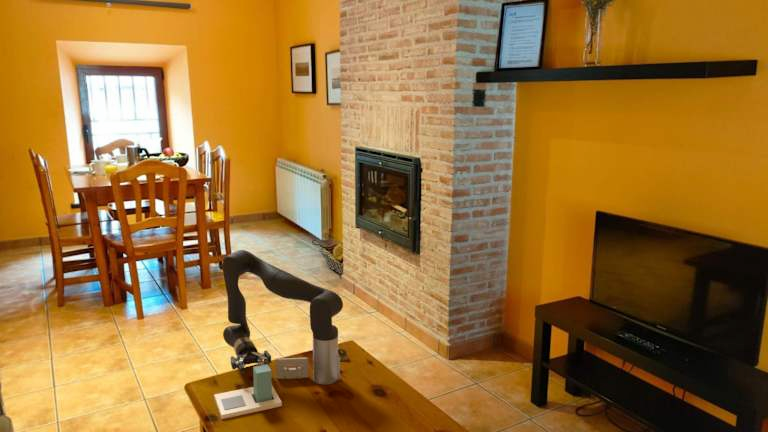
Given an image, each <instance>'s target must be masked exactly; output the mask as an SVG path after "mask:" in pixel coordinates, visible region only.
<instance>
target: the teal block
mask: <svg viewBox="0 0 768 432" xmlns="http://www.w3.org/2000/svg"><path fill="white" fill-rule="evenodd" d="M252 372H253V373H252V374H253V375H252V376H253V387H254V398H253V399H254V401H255V403H259V402H264V401H269V400H273V399H272V386H273V384H272V370H271V367H270V365H269V366H268V364H266V365H264V364H260V365H257V366H253V367H252Z"/></svg>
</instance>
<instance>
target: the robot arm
mask: <svg viewBox="0 0 768 432" xmlns="http://www.w3.org/2000/svg"><path fill="white" fill-rule="evenodd" d="M246 273H249V274H253V275H254V276H256V277H258V278H259V279H260V280H261V281H262V284H263V285H264V287H265V288H266V289H267V290H268V291H269V292H271V293H273V294H274V295H277V296H278V297H281V298H283V299H286V300H287V299H289V300H295V301H302V302H307V303H309V304H310V305H309V322H310V324H309V325H310V329H311V331H312V379H313V381H314V383H316V384H318V385H332V384H334V383H336V382H337V381H340V379H341V369H340V368H341V361H340V356H339V355H338V348H339V328H338V327H337V326H336V325H333V319H332V318H334V317H335V316H336V315H338V314H339V313H340V312H341V311H342V309H343V308H344V303H343V302H344V301H343V299H342V297H341V296H340V295H339V294H338V293H336V292H334V291H333V290H331V289H327V288H323V287H321V286H318V285H314V284H313V283H310V282H308V281H306V280H304V279H302V278H299V277H298V276H295V275H293V274H292V273H290V272H288V271H285V270H284V269H280V268H279V267H276V266H275V265H273V264H270V263H268V262H266V261H265V260H262V259H261V258H259V256H256V255H255V254H253V253H252V252H250V251H247V250H245V249H240V250H237V251H234V252H232V253H229V254H227V255H225V257H224V258H223V259H222V274H223V278H224V285H225V289H226V295H227V318H228V321H229V323H231V324H234V325H229V326H228V325H227V327H225V328H224V330H223V332H222V337H223V339H224V341H225V343H226V344H227V345H228V346H230V347H231V348H233V350H234V354H235V355H236V357H234V356H232V355H231V356H230V365H231V369H232V370H236V369H237V370H238V371H239V373H242V374H244V373H245V367H246V366H247V365H252V364H257V365H266V364H268V366H269V367H270V364H271V363H272V355H271V354H270V353H269V351H268V350H264V351H263V352H262V353H260V352H259V351H258V349H257V347H256V345H255V344H254V341H252V340H251V331H250V327H249V325H248V322H247V321H248V320H247V302H246V298H245V296H244V294H243V293H242V291H241V290H240V287H239V281H240V280H239V279H240V276H242V275H244V274H246Z"/></svg>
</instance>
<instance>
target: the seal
mask: <svg viewBox="0 0 768 432" xmlns="http://www.w3.org/2000/svg"><path fill="white" fill-rule="evenodd" d="M338 355H339V356H340V362H343V361H347V360H349V356H348V352H347V349H346V348H339V347H338Z"/></svg>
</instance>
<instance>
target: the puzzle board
mask: <svg viewBox="0 0 768 432" xmlns="http://www.w3.org/2000/svg"><path fill="white" fill-rule="evenodd" d="M213 399H214V402H215V405H216V407H217V411H218V412H219V416H220V418H221V420H225V419H228V418H229V419H230V418H233V417H238V416H242V415H247V414H252V413H256V412H260V411H266V410H270V409H274V408H275V409H276V408H279V407H283V403H282V400H281V398H280V397H279V395H278V393H277V391H276V389H275V388H274V386H273V385H272V400H269V401H264V402H259V403H256V402H255V400H254V386H251V387H246V388H240V389H235V390H230V391H226V392H220V393H215V394H213Z"/></svg>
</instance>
